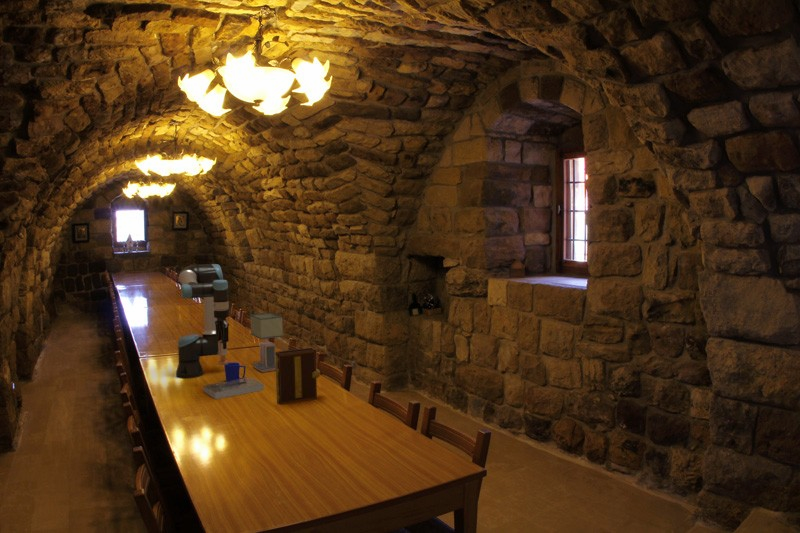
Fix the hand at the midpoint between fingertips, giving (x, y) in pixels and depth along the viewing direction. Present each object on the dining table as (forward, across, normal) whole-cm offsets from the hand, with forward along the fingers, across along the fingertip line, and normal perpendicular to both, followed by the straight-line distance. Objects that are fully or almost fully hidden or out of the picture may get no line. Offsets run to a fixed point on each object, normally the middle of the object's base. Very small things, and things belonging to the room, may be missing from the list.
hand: (222, 354), depth 310 cm
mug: (+21, -17, +13) cm, 30 cm away
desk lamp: (+20, -33, +40) cm, 56 cm away
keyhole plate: (+20, 0, +5) cm, 21 cm away
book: (+21, +37, +24) cm, 49 cm away
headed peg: (+5, 0, 0) cm, 5 cm away
